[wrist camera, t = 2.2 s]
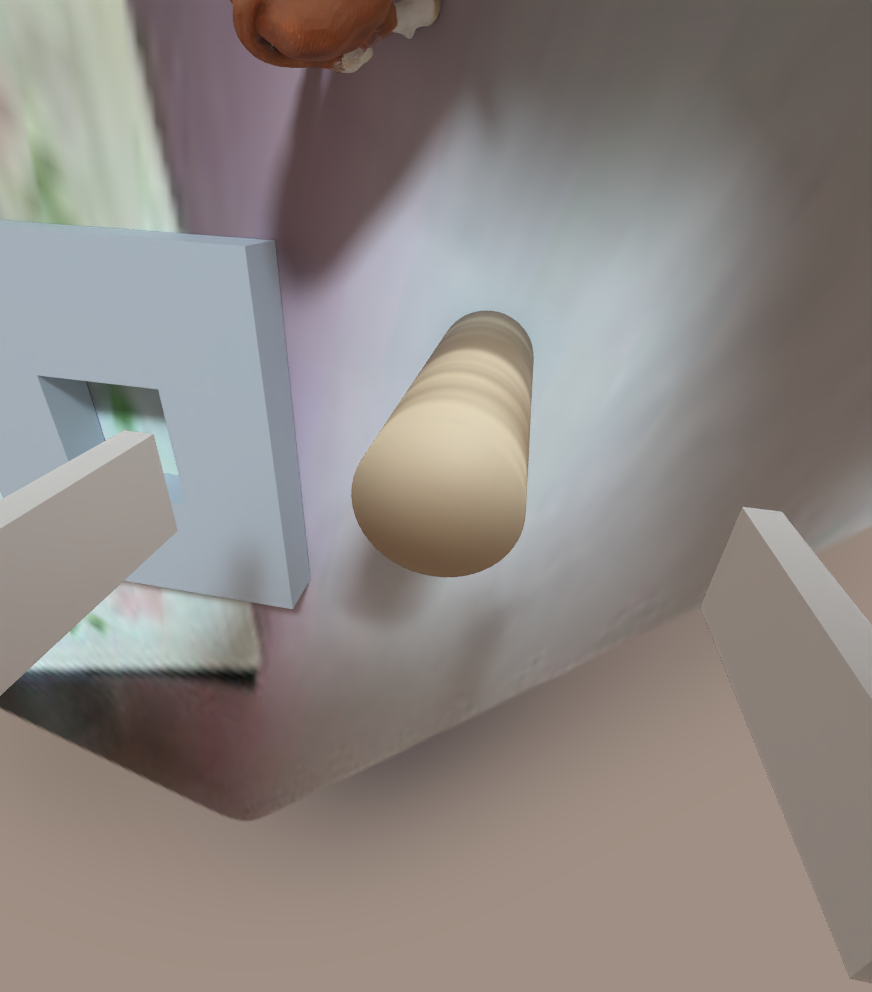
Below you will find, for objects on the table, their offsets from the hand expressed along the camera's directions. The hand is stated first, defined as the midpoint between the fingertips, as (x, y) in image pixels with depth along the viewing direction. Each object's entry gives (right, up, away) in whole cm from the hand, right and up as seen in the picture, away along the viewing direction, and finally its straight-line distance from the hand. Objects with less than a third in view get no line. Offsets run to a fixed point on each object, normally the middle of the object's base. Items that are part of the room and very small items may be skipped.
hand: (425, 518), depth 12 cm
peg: (+2, +6, +10) cm, 12 cm away
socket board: (-15, +4, +15) cm, 21 cm away
